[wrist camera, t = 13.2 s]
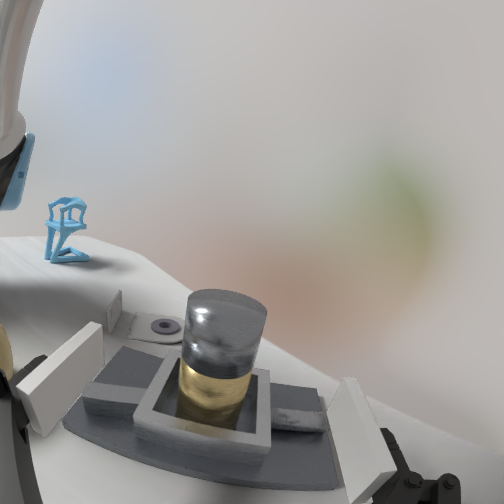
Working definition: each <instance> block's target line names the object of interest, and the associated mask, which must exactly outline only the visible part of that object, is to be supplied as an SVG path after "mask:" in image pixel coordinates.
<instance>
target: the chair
mask: <svg viewBox="0 0 504 504" xmlns="http://www.w3.org/2000/svg"><path fill="white" fill-rule="evenodd" d="M58 204H65V206H63V207H61V208H60V212H61V215H60V220H53V211H52V208H53V207H54V206H56V205H58ZM48 206H49V211H50V217H49V220H47V221H46V223H45V224H46V225H47V226H48V237H47V244H46V250H45V259H50V263H58V262H73V261H88V260H89V256H88V255H86V254H84V253H82V252H80V251H78V250H76V249H74V248H72V247H65V248H62V249H61V247H62V245H63V244H64V242H65V240H66V239H67V237H68V236H69V235H70V234H71V233H73V232H75V231H77V230H79V229H86V224H84V223H83V215H84V213H85V210H86V207H87V206H86V204H85V203H84V202H83V201H82V200H81V199H80V198H78V197H73V198H67V197H64V198H60V199H57V200H55V201H54V202H52V203H49V204H48ZM72 208H78V209H80V210H81V211H82V212H81V214H80V216H79V222H77V221H75V220H73V219H71V211H72ZM67 210H68V217H67V219H64V212H65V211H67ZM56 230H57V231H59V232H60V238H59V240H58V243H57V245H56V247H55V249H54V251H53V252H51V250H52V243H53V238H54V234H55V231H56ZM69 251H70V252H72V253H74V254H76V255H78V256H58V255H61V254H63V253H66V252H69Z"/></svg>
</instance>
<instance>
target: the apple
mask: <svg viewBox="0 0 504 504" xmlns="http://www.w3.org/2000/svg"><path fill="white" fill-rule="evenodd" d="M0 369H2V370H3V371H4V372H5V374H6V377H7V380H8V381H9V380H10V379H11V378H12V375H13V358H12V351H11V346H10V343H9V340H8V337H7V335H6V332H5V330H4V328H3V327H2V325H1V324H0Z"/></svg>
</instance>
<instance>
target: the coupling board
mask: <svg viewBox="0 0 504 504" xmlns="http://www.w3.org/2000/svg"><path fill="white" fill-rule="evenodd" d="M180 361H181V351H177V350H173V349H170V350H169V352H168V354H167V356H166V357H165V359H162V358H159V357H156V356H152V355H149V354H146V353H143V352H140V351H136V350H133V349H130V348H127V347H124V346H123V347H122V348H121V349H120V350H119V351H118V353H117V354H116V355H115V356H114V357H113V358H112V360H111V361H110V362H109V363H108V364H107V365H106V367H105V368H104V369H103V370H102V371H101V373H100V374H99V375H98V376H97V377H96V379H95V380H94V381H93V382H90V383H89V384H88V385H87V386H86V388H85V389H84V390H83V393H82V395H81V397H80V398H79V399H78V400H77V401H76V403H75V404H74V405H73V406H72V408H71V409H70V410H69V411H68V413H67V414H66V415H65V416H64V418H63V419H62V423H63V426H64V428H65V429H67V430H69V431H71V432H72V433H74V434H76V435H78V436H80V437H82V438H84V439H86V440H88V441H91V442H93V443H95V444H97V445H99V446H101V447H104V448H106V449H108V450H111V451H113V452H116V453H118V454H121V455H123V456H126V457H128V458H131V459H134V460H136V461H139V462H142V463H145V464H148V465H151V466H154V467H158V468H161V469H164V470H168V471H171V472H175V473H179V474H182V475H186V476H191V477H195V478H199V479H204V480H209V481H214V482H219V483H225V484H232V485H238V486H246V487H255V488H265V489H278V490H333V489H334V488H335V487H336V486H337V485H338V479H337V475H336V470H335V465H334V461H333V456H332V452H331V448H330V443H329V439H328V434H327V432H328V430H329V428H330V424H329V420H328V417H327V413H324V412H322V409H321V405H320V401H319V397H318V393H317V389H315V388H306V387H298V386H290V385H283V384H276V383H270V371H269V370H263V369H257V368H253V370H252V374H251V377H250V381H249V385H248V388H247V392H246V395H245V399H244V403H243V406H242V410H241V413H240V417H239V420H238V423H237V426H236V427H235V428H234V429H233V430H228V429H223V428H218V427H213V426H208V425H204V424H200V423H196V422H192V421H188V420H184V419H180V418H177V415H176V405H177V392H178V381H179V370H180Z"/></svg>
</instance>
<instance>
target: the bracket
mask: <svg viewBox="0 0 504 504" xmlns="http://www.w3.org/2000/svg"><path fill="white" fill-rule="evenodd" d="M118 302H119V303H118ZM121 312H122V292H121V290H119V291H118V293H117V294H116V296H115V297H114V299H113V301H112V302H111V304H110V305H109V307H108V309H107V310H106V318H107V328H108V334H111V332H112V330H113V328H114V326H115V324H116V322H117V320H118V318H119V316H120V314H121ZM135 316H136V318H133V321H132V323H131V326H130V329H129V330H131V334H130V335H127V337H126V338H129V339H135V340H140V341H146V342H153V343H166V344H168V343H177V342H180V341H183V334H184V325H185V321H184V320H183V319H180V318H177V317H173V316H164V315H152V314H142V313H135ZM161 327H168V328H161Z"/></svg>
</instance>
